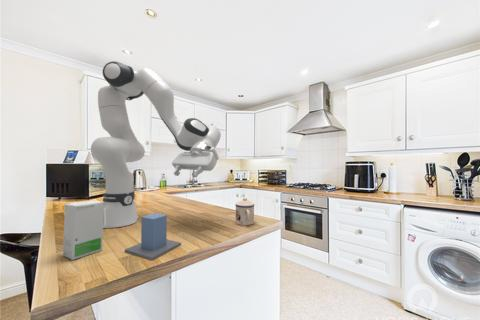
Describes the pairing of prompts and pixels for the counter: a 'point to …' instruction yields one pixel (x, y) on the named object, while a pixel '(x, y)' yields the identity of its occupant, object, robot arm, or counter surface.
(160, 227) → the blue block
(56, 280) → the counter surface
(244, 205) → the teacup with lid
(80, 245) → the skincare box
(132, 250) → the post
